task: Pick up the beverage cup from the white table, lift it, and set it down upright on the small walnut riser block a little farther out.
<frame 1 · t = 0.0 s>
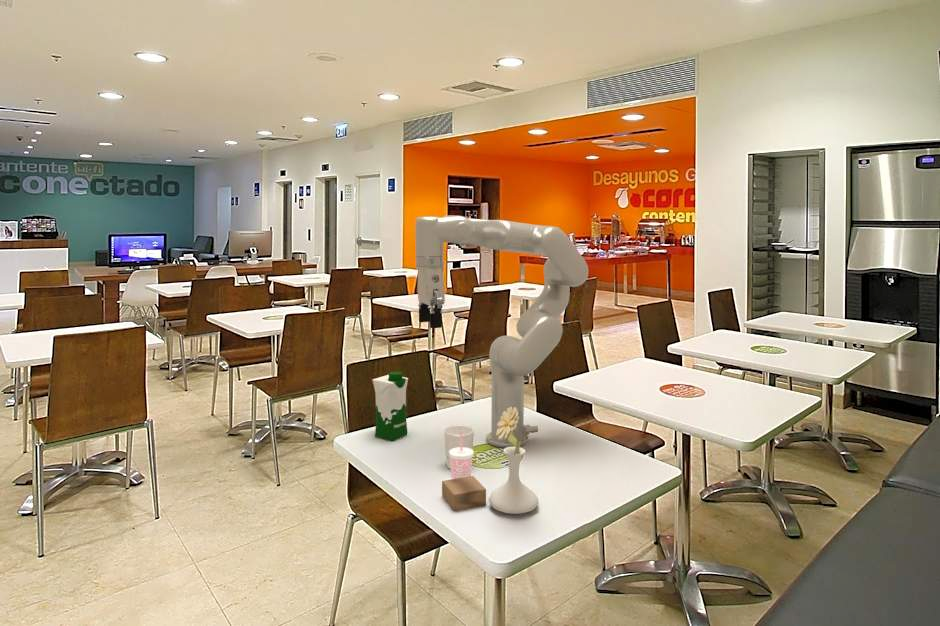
hand: (430, 324, 174), 37 cm above the table, tool pointing down, fingers open, 9 cm apart
beverage cup: (461, 486, 158), on the table
flower in vase: (513, 509, 146), on the table
milk carton: (391, 436, 193), on the table
white cup: (459, 466, 171), on the table
riser: (463, 500, 150), on the table
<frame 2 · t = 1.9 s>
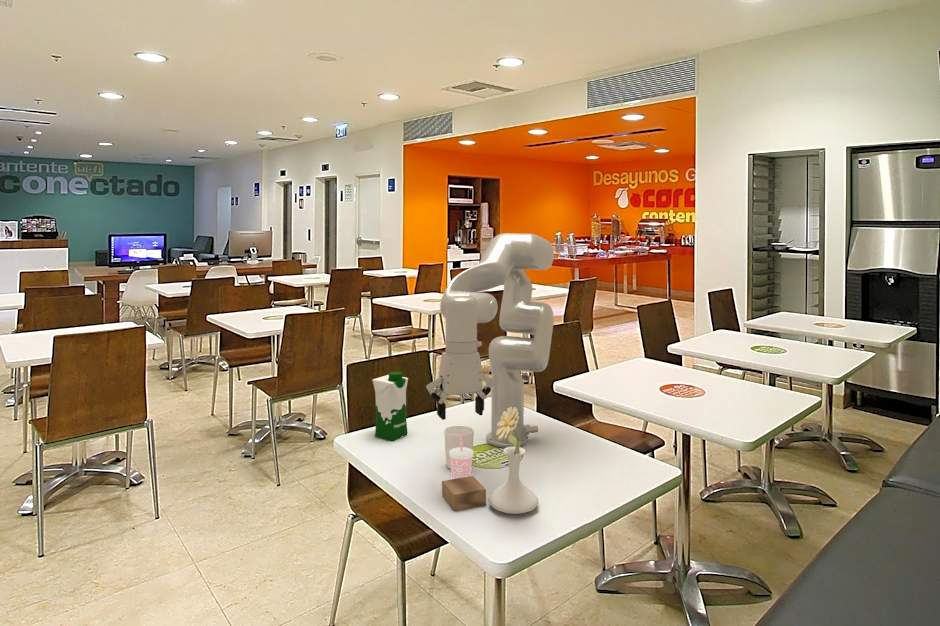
hand: (460, 415, 155), 18 cm above the table, tool pointing down, fingers open, 9 cm apart
nothing on the table moved.
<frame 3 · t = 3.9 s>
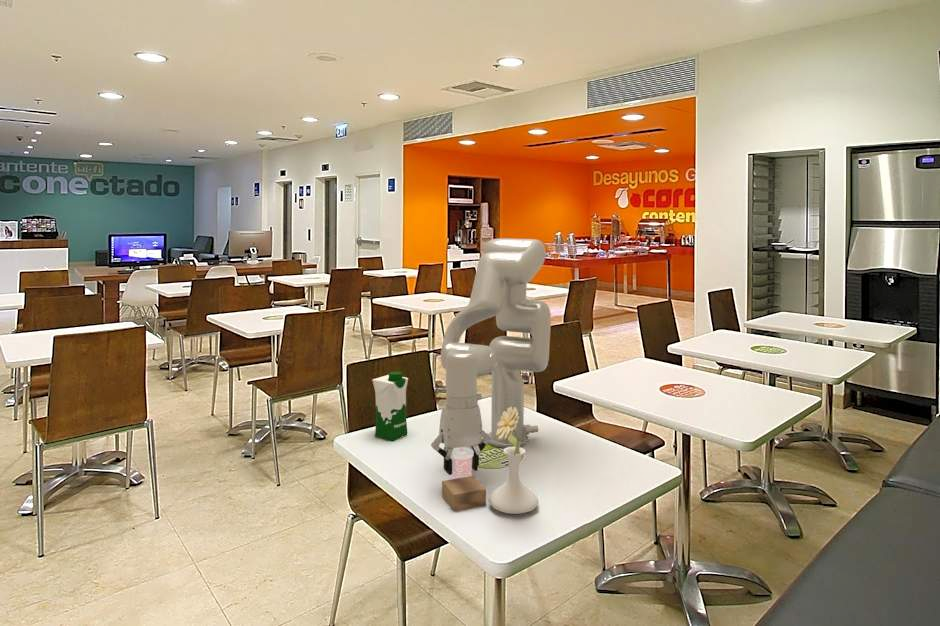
hand: (461, 470, 157), 4 cm above the table, tool pointing down, fingers closed on beverage cup, 6 cm apart
beverage cup: (461, 486, 158), on the table, touching gripper
everything else where it was.
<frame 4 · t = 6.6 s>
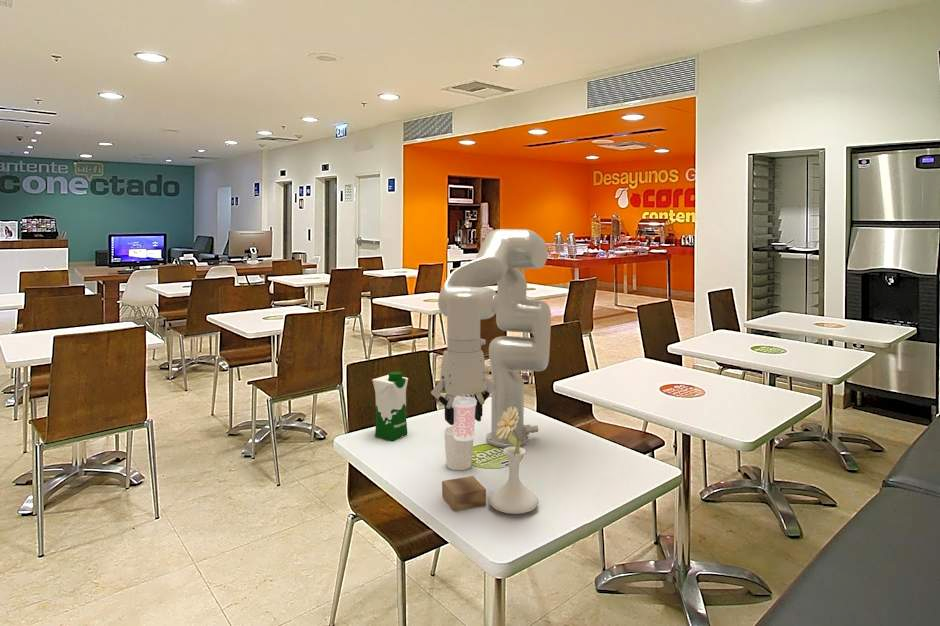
hand: (463, 420, 147), 20 cm above the table, tool pointing down, fingers closed on beverage cup, 6 cm apart
beverage cup: (463, 438, 148), point 15 cm above the table, touching gripper
everything else where it was.
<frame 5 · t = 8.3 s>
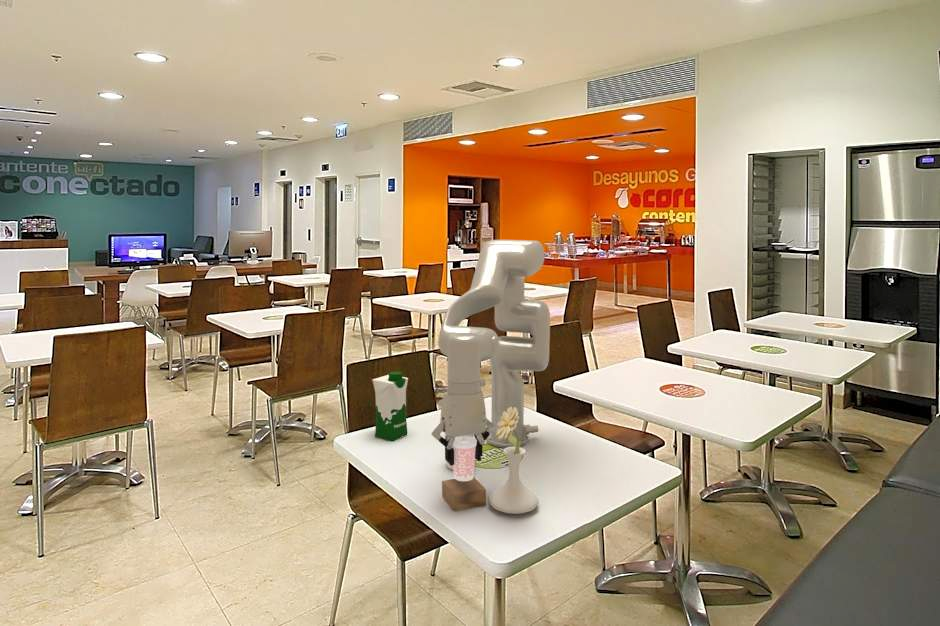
hand: (463, 460, 148), 10 cm above the table, tool pointing down, fingers closed on beverage cup, 6 cm apart
beverage cup: (463, 478, 149), point 6 cm above the table, touching gripper
everything else where it was.
when the fingers open (9 cm above the table, at t = 9.3 s): beverage cup drops 1 cm, resting on riser.
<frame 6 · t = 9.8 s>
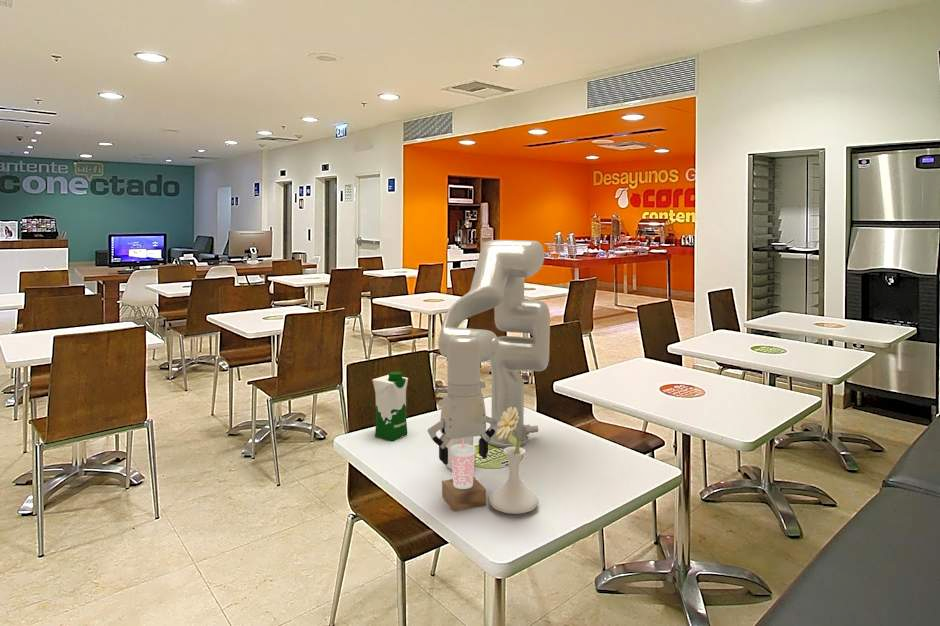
hand: (463, 459, 148), 10 cm above the table, tool pointing down, fingers open, 9 cm apart
beverage cup: (463, 485, 149), point 4 cm above the table, touching riser
everything else where it was.
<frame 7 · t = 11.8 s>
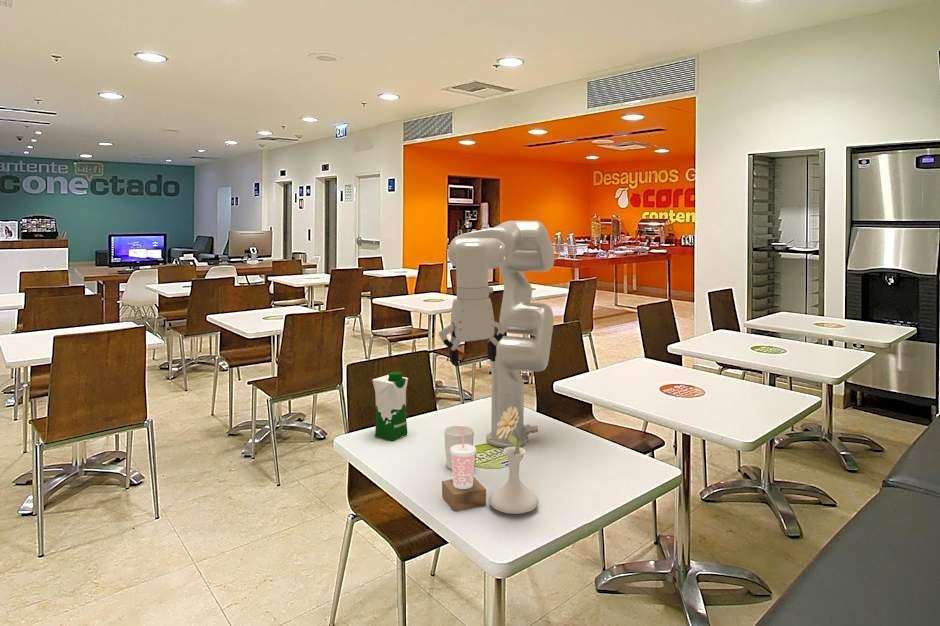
hand: (473, 362, 155), 31 cm above the table, tool pointing down, fingers open, 9 cm apart
nothing on the table moved.
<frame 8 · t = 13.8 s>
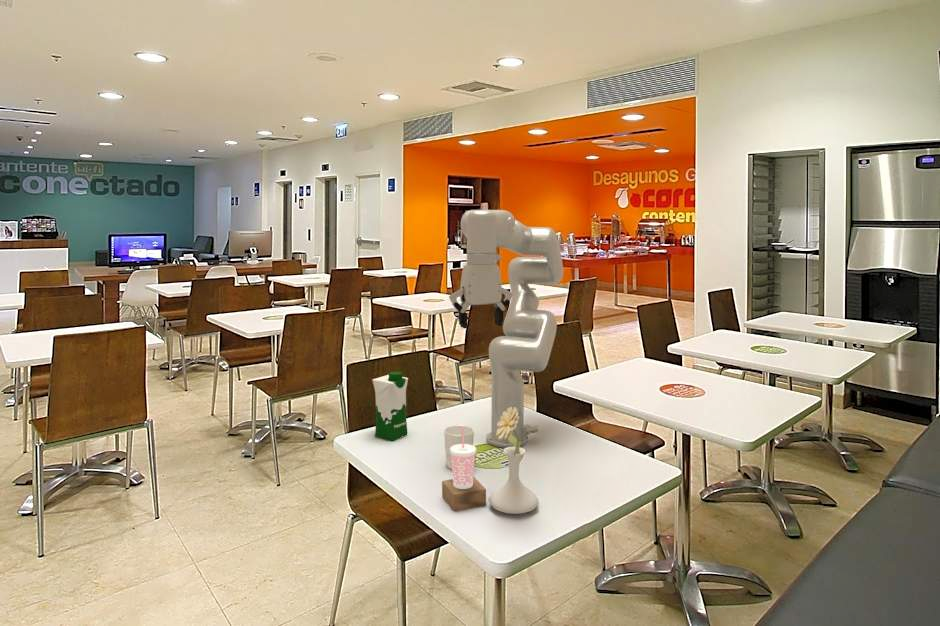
hand: (481, 326, 164), 38 cm above the table, tool pointing down, fingers open, 9 cm apart
nothing on the table moved.
at the end: beverage cup inside the target area on the riser (0.1 cm from its centre), point 3.8 cm above the riser's base; beverage cup tilted 0°; the gripper is holding nothing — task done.
